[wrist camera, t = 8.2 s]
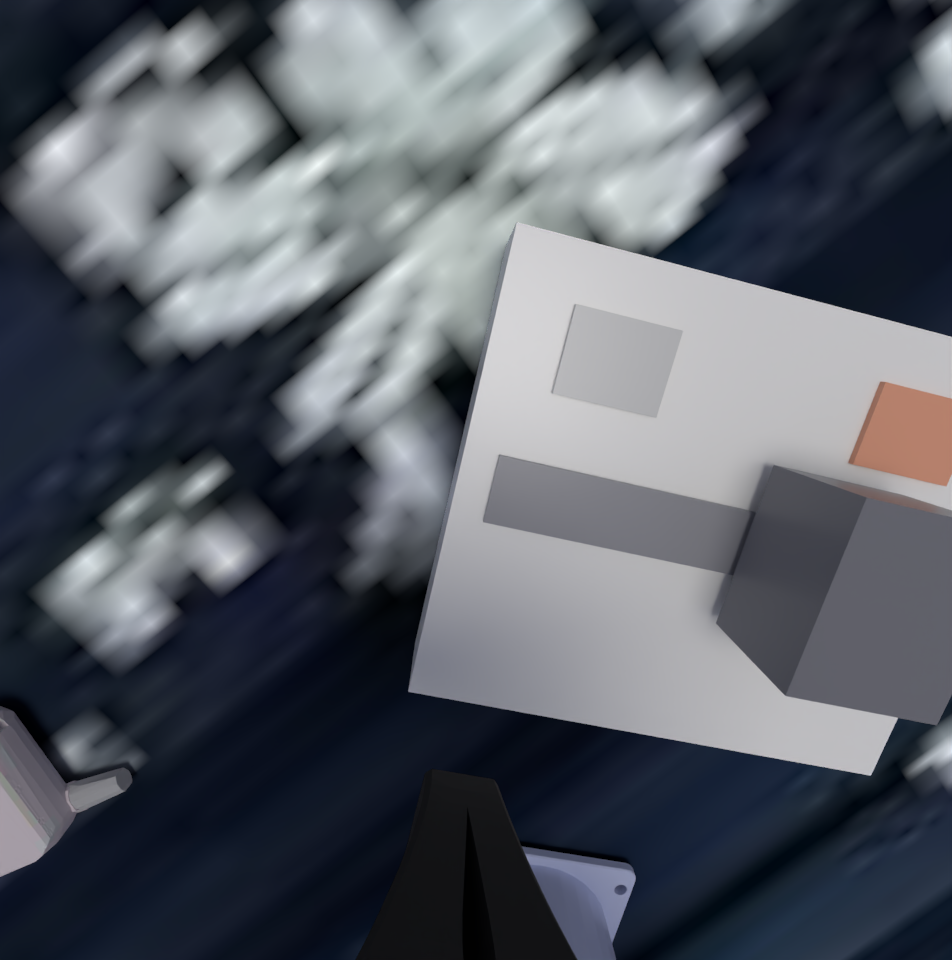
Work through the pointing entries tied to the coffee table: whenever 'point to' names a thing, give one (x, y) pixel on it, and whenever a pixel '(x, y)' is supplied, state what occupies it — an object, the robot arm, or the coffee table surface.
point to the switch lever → (846, 596)
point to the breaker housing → (658, 491)
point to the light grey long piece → (40, 796)
